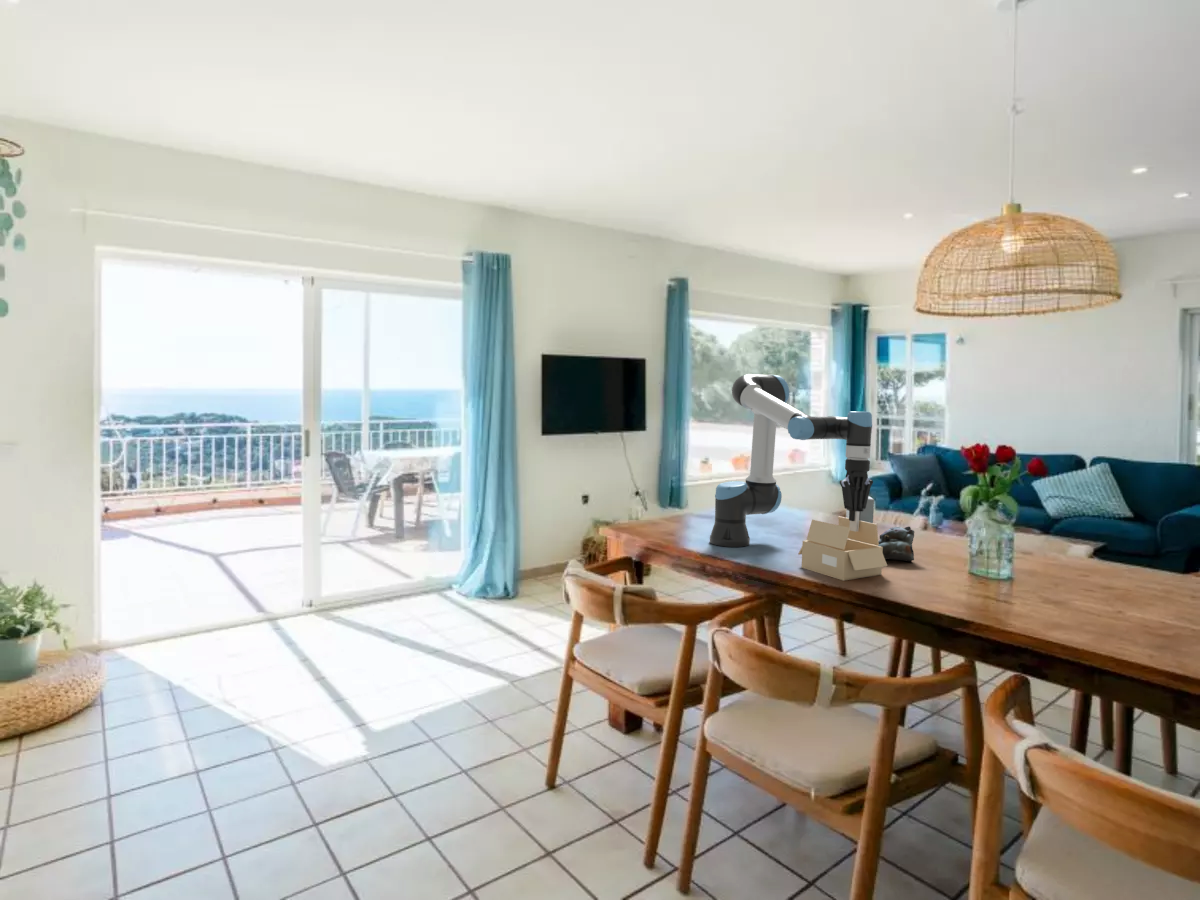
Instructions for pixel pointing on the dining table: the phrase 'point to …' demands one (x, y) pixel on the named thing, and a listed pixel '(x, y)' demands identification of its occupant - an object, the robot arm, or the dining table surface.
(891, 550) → the dark grey backpack
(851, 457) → the robot arm
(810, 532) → the flap
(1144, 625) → the dining table surface
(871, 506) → the hard drive box
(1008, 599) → the dining table surface
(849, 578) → the carton
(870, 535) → the flap
